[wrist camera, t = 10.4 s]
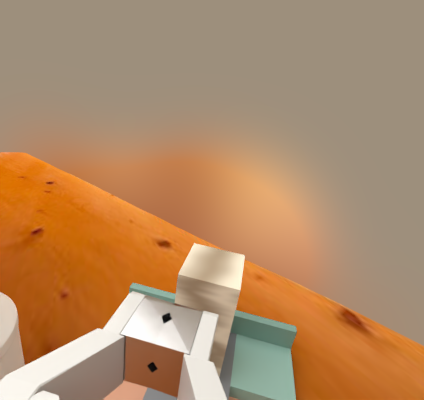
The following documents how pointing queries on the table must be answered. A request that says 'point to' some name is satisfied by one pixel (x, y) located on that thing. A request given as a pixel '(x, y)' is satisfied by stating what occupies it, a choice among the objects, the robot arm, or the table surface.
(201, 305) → the maple block
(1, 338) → the jar
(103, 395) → the robot arm
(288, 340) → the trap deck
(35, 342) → the table surface
